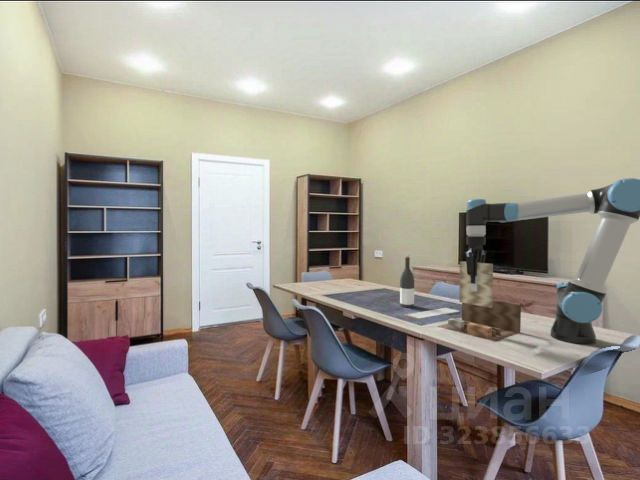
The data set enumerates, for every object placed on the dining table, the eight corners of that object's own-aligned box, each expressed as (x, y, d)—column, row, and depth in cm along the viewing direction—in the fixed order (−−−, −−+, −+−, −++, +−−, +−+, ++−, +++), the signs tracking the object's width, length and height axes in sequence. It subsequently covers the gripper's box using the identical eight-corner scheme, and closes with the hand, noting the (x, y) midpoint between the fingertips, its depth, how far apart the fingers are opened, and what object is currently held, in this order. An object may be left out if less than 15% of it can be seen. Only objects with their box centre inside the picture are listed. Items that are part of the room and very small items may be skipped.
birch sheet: (492, 307, 143) (492, 263, 142) (490, 307, 142) (490, 264, 141) (461, 301, 154) (461, 261, 154) (459, 302, 153) (459, 261, 153)
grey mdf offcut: (464, 330, 148) (464, 321, 148) (460, 331, 147) (460, 322, 147) (451, 327, 153) (451, 318, 153) (447, 328, 152) (447, 319, 151)
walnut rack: (520, 336, 146) (520, 304, 145) (494, 345, 133) (495, 310, 133) (463, 322, 167) (463, 294, 166) (436, 329, 154) (437, 299, 154)
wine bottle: (399, 306, 200) (399, 255, 199) (400, 304, 208) (400, 254, 207) (413, 307, 198) (414, 255, 197) (414, 304, 206) (414, 254, 205)
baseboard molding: (401, 316, 181) (419, 321, 171) (402, 310, 181) (419, 315, 171) (441, 309, 197) (459, 313, 187) (441, 304, 197) (460, 308, 187)
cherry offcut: (491, 337, 139) (492, 327, 139) (487, 338, 137) (488, 328, 137) (470, 331, 146) (471, 322, 146) (466, 333, 144) (467, 323, 144)
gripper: (476, 235, 155) (476, 287, 155) (458, 235, 146) (457, 291, 147) (493, 235, 149) (493, 290, 149) (474, 236, 140) (474, 293, 141)
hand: (475, 290), depth 148 cm, fingers closed on birch sheet, 2 cm apart
